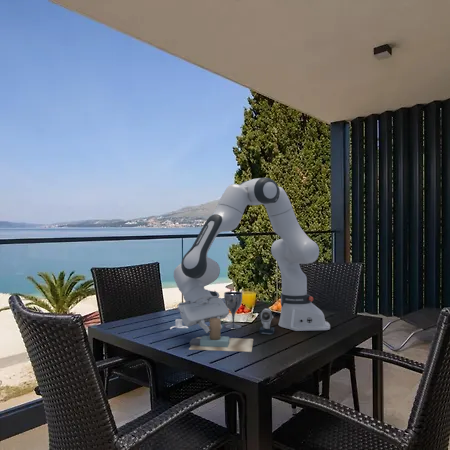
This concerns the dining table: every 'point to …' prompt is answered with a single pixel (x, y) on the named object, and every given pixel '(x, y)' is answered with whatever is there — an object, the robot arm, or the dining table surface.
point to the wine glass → (233, 305)
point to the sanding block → (215, 335)
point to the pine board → (234, 345)
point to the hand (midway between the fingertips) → (214, 330)
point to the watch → (266, 322)
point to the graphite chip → (195, 341)
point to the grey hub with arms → (179, 324)
